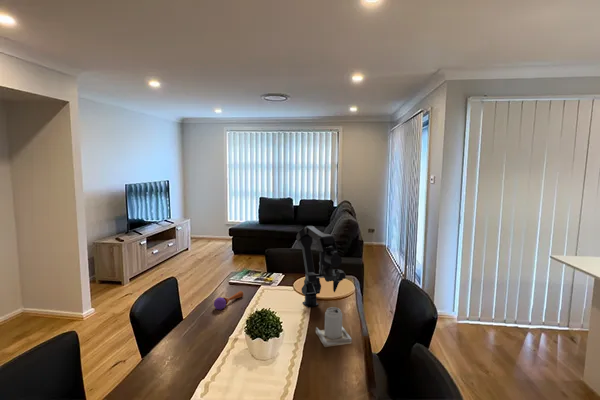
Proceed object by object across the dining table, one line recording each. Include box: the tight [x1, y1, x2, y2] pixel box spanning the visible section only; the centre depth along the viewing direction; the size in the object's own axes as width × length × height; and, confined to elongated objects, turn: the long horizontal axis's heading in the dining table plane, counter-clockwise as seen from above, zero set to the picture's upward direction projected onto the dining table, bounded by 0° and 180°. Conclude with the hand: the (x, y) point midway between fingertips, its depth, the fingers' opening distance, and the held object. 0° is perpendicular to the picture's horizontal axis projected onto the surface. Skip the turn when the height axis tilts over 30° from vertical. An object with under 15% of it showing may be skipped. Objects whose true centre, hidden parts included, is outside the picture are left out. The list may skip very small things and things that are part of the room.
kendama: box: [213, 290, 244, 311], centre depth 171 cm, size 6×6×20 cm
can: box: [323, 306, 343, 340], centre depth 140 cm, size 8×8×12 cm
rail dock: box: [315, 326, 353, 348], centre depth 140 cm, size 12×12×2 cm
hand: (325, 292), depth 155 cm, fingers open, 9 cm apart
